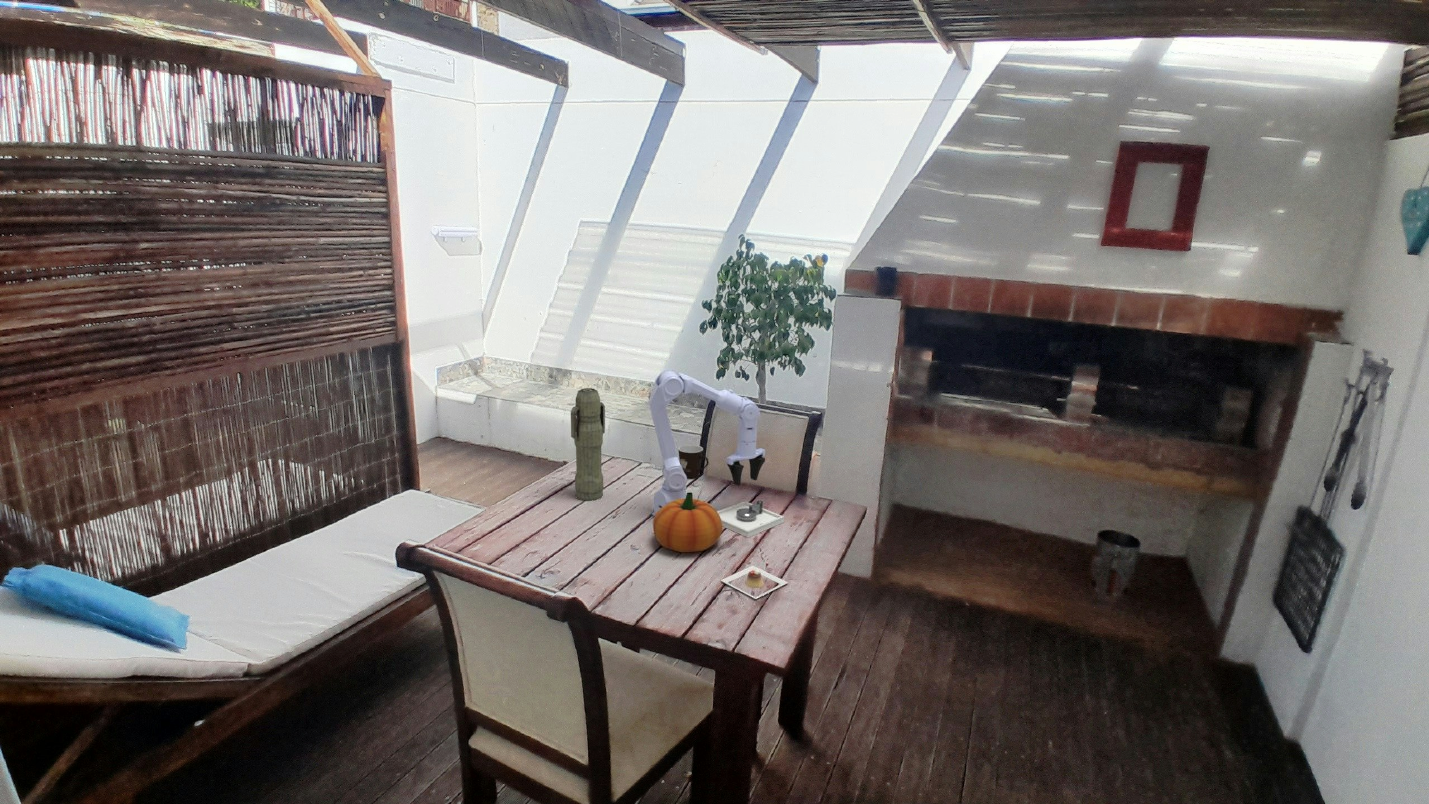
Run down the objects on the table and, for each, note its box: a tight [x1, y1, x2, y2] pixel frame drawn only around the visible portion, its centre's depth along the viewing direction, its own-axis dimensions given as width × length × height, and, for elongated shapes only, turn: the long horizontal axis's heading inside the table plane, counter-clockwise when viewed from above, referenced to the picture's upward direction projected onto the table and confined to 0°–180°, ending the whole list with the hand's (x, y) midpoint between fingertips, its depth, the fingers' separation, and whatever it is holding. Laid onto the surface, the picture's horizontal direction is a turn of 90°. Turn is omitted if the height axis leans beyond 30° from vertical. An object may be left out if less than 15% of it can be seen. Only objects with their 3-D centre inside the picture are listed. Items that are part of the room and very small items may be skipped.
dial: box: [736, 500, 764, 521], centre depth 215 cm, size 10×6×3 cm, turn 135°
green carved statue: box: [570, 387, 606, 502], centre depth 226 cm, size 9×12×35 cm
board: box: [716, 501, 785, 538], centre depth 215 cm, size 16×16×2 cm
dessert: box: [720, 565, 789, 600], centre depth 178 cm, size 12×12×5 cm
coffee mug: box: [677, 444, 709, 480], centre depth 248 cm, size 12×9×10 cm
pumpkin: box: [652, 492, 724, 553], centre depth 198 cm, size 19×19×15 cm
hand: (745, 481), depth 220 cm, fingers open, 7 cm apart
